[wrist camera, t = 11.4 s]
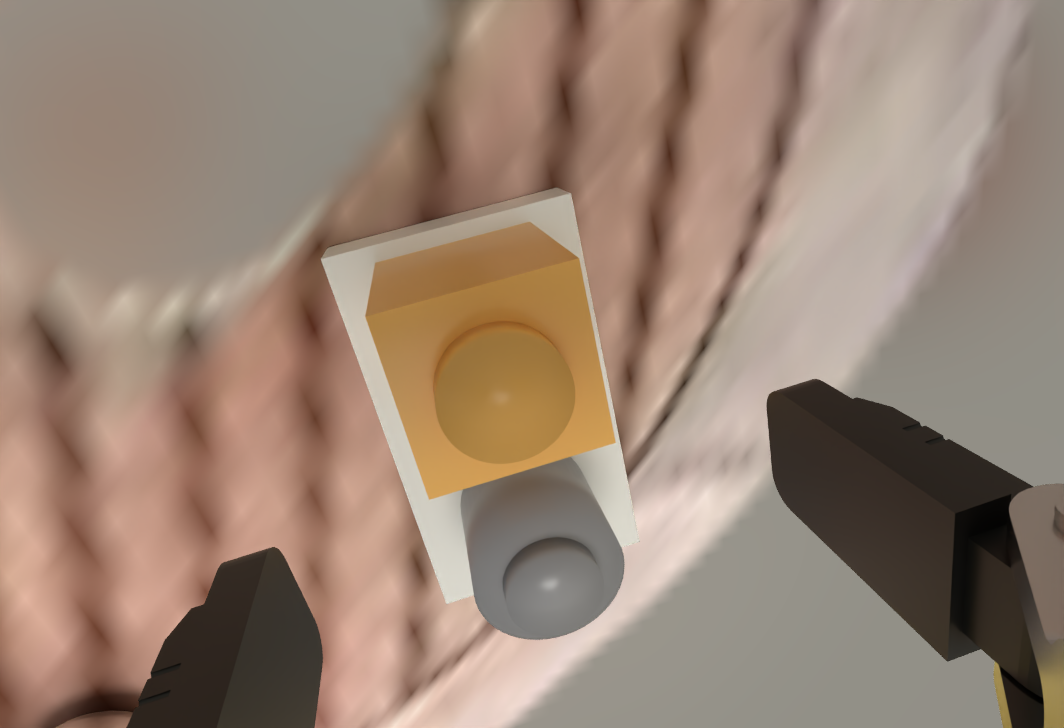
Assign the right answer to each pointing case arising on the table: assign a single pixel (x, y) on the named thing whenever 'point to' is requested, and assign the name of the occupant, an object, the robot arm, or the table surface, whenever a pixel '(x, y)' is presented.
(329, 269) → the white rectangular plate
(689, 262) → the table surface
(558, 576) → the capped post
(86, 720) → the plastic bottle
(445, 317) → the domed tan cube
